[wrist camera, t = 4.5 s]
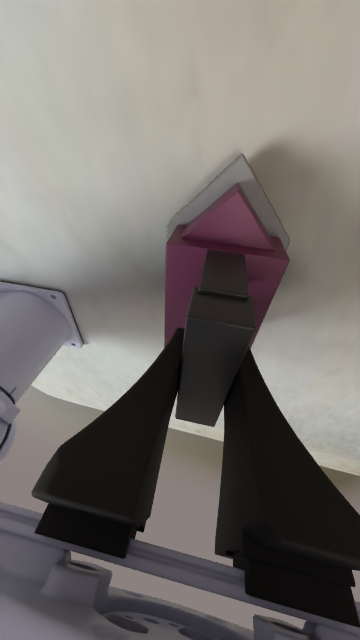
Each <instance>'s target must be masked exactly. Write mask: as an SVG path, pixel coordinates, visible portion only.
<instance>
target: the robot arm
mask: <svg viewBox="0 0 360 640" xmlns="http://www.w3.org/2000/svg"><path fill="white" fill-rule="evenodd" d="M184 330H185V328H179V327H178V328H176V330H175V332H174V334H173V336H172V337H171V339H170V341H169V342H168V344H167V345H166V347H165V348H164V349H163V351H162V352H161V354H160V355H159V356H158V358H157V359H156V360H155V361H154V363H153V364H152V365H151V366H150V367H149V369H148V370H147V371H146V372H145V373H144V374H143V376H142V377H141V378H140V379H139V380H138V381H137V382H136V383H135V384H134V385H133V386H132V387H131V388H130V389H129V390H128V391H127V392H126V393H125V394H124V395H123V396H122V397H121V398H120V399H119V400H118V401H116V402H115V403H114V404H113V405H112V406H111V407H110V408H108V409H107V410H106V411H105V412H104V413H103V414H101V415H100V416H99V417H98V418H96V419H95V420H94V421H93V422H92V423H90V424H89V425H88V426H86V427H85V428H84V429H83V430H81V431H80V432H78V433H77V434H76V435H74V436H73V437H72V438H70V439H69V440H68V441H66V442H65V443H64V444H62V445H61V446H60V447H59V448H58V450H57V451H56V453H55V454H54V455H53V457H52V458H51V460H50V461H49V462H48V464H47V465H46V467H45V469H44V470H43V472H42V474H41V476H40V478H39V479H38V482H37V483H36V485H35V487H34V488H33V490H32V496H33V497H35V498H37V499H40V500H42V501H44V502H47V503H49V504H48V506H47V508H46V510H45V512H44V514H42V513H38V512H35V511H31V510H27V509H24V508H20V507H17V506H13V505H10V504H6V503H3V502H0V640H360V603H359V602H356V601H354V598H353V594H352V590H351V587H355V580H354V577H353V573H352V570H359V571H360V515H359V514H358V513H357V512H356V510H355V509H354V508H353V507H352V506H351V505H350V503H349V502H348V501H347V500H346V499H345V498H344V496H343V495H342V494H341V493H340V492H339V490H338V489H337V488H336V487H335V486H334V484H333V483H332V482H331V481H330V479H329V478H328V477H327V476H326V474H325V473H324V472H323V471H322V469H321V468H320V467H319V465H318V464H317V463H316V461H315V460H314V459H313V457H312V456H311V455H310V453H309V452H308V451H307V449H306V448H305V446H304V445H303V444H302V442H301V441H300V440H299V438H298V437H297V435H296V434H295V432H294V431H293V429H292V428H291V426H290V425H289V423H288V422H287V420H286V419H285V417H284V416H283V414H282V412H281V411H280V409H279V407H278V406H277V404H276V402H275V400H274V399H273V397H272V395H271V393H270V391H269V389H268V388H267V386H266V384H265V382H264V380H263V377H262V375H261V373H260V371H259V369H258V367H257V364H256V362H255V360H254V357H253V355H252V352H251V350H250V347H248V350H247V352H246V354H245V357H244V359H243V361H242V364H241V366H240V368H239V371H238V373H237V375H236V377H235V380H234V382H233V384H232V387H231V389H230V391H229V394H228V396H227V398H226V401H225V403H224V447H223V462H222V474H221V486H220V498H219V508H218V518H217V528H216V537H215V554H216V555H220V556H223V557H227V558H231V559H233V567H231V566H227V565H224V564H220V563H217V562H213V561H209V560H206V559H202V558H198V557H195V556H192V555H188V554H184V553H181V552H178V551H174V550H170V549H167V548H163V547H159V546H156V545H152V544H149V543H145V542H142V541H138V540H135V535H136V532H137V531H140V532H144V528H145V524H146V520H147V519H148V518H149V517H150V515H151V509H152V504H153V499H154V494H155V489H156V483H157V479H158V473H159V469H160V464H161V459H162V454H163V449H164V444H165V439H166V435H167V430H168V425H169V420H170V416H171V413H172V409H173V406H174V402H175V399H176V396H177V392H178V387H179V377H180V368H181V359H182V349H183V340H184ZM62 345H66V346H71V347H76V348H81V347H82V346H83V343H82V340H81V338H80V335H79V332H78V330H77V327H76V324H75V322H74V319H73V316H72V314H71V311H70V309H69V306H68V303H67V301H66V298H65V296H64V294H63V293H61V292H58V291H52V290H46V289H40V288H34V287H28V286H23V285H17V284H11V283H5V282H0V465H1V463H2V462H3V460H4V459H5V457H6V456H7V454H8V452H9V450H10V448H11V446H12V444H13V440H14V437H15V433H16V422H15V421H14V418H15V417H16V415H17V414H18V413H19V412H20V409H19V408H17V407H16V406H15V404H16V402H17V401H18V400H19V399H20V397H21V396H22V395H23V394H24V393H25V391H26V390H27V389H28V387H29V386H30V385H31V384H32V383H33V381H34V380H35V379H36V378H37V376H38V375H39V374H40V373H41V371H42V370H43V369H44V368H45V366H46V365H47V364H48V363H49V361H50V360H51V359H52V358H53V356H54V355H55V354H56V353H57V351H58V350H59V349H60V348H61V346H62ZM70 551H74V552H77V553H80V554H83V555H87V556H90V557H94V558H97V559H100V560H104V561H107V562H111V563H114V564H118V565H121V566H124V567H127V568H131V569H134V570H138V571H141V572H145V573H148V574H151V575H155V576H158V577H161V578H165V579H168V580H172V581H175V582H178V583H182V584H185V585H188V586H192V587H195V588H199V589H202V590H205V591H209V592H212V593H216V594H219V595H222V596H226V597H229V598H233V599H236V600H239V601H243V602H246V603H249V604H253V605H256V606H260V607H263V608H266V609H270V610H273V611H277V612H280V613H283V614H287V615H290V616H294V617H297V618H300V619H304V620H307V621H306V622H305V624H304V628H303V629H300V628H298V627H296V626H294V625H292V624H289V623H287V622H284V621H282V620H279V619H275V618H271V617H266V616H261V615H256V614H255V615H254V616H253V627H254V631H252V630H250V629H247V628H244V627H241V626H238V625H236V624H233V623H230V622H227V621H225V620H222V619H219V618H217V617H214V616H211V615H208V614H205V613H203V612H200V611H197V610H194V609H191V608H188V607H185V606H182V605H179V604H176V603H172V602H169V601H166V600H162V599H159V598H155V597H151V596H147V595H144V594H140V593H135V592H131V591H127V590H123V589H119V588H115V587H111V586H109V584H110V581H111V577H112V572H111V571H110V570H107V569H105V568H103V567H100V566H98V565H96V564H93V563H89V562H85V561H77V560H71V552H70Z"/></svg>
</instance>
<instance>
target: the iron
mask: <svg viewBox="0 0 360 640" xmlns="http://www.w3.org/2000/svg"><path fill="white" fill-rule="evenodd" d="M289 242H290V238H289V236H288V235H287V233H286V231H285V229H284V227H283V225H282V224H281V222H280V220H279V218H278V216H277V215H276V213H275V211H274V209H273V207H272V205H271V204H270V202H269V200H268V198H267V196H266V194H265V193H264V191H263V189H262V187H261V185H260V184H259V182H258V180H257V178H256V176H255V174H254V173H253V171H252V169H251V167H250V165H249V163H248V162H247V160H246V158H245V156H244V154H240V155H239V156H238V157H237V158H236V159H235V160H234V161H233V162H232V163H231V164H230V165H229V166H228V167H227V168H225V169H224V170H223V171H222V172H221V173H220V174H219V175H218V176H217V177H216V178H215V179H214V180H213V181H211V182H210V183H209V184H208V185H207V186H206V187H205V188H204V189H203V190H202V191H201V192H200V193H199V194H198V195H196V196H195V197H194V198H193V199H192V200H191V201H190V202H189V203H188V204H187V205H186V206H185V207H184V208H182V209H181V210H180V211H179V212H178V213H177V214H176V215H175V216H174V217H173V218H172V219H171V220H170V222H169V223H168V225H167V243H166V278H165V342H164V348H165V347H166V345H167V344H168V342H169V341H170V339H171V337H172V336H173V334H174V332H175V330H176V328H178V327H179V328H185V330H184V340H183V349H182V359H181V368H180V377H179V387H178V396H177V406H176V415H175V417H176V419H180V420H184V421H189V422H194V423H198V424H203V425H207V426H212V427H214V426H215V424H216V422H217V419H218V417H219V415H220V412H221V410H222V408H223V405H224V403H225V401H226V398H227V396H228V394H229V391H230V389H231V387H232V384H233V382H234V380H235V377H236V375H237V373H238V371H239V368H240V366H241V364H242V361H243V359H244V357H245V354H246V352H247V350H248V347H250V349H251V346H252V344H253V342H254V340H255V337H256V335H257V333H258V331H259V328H260V326H261V324H262V322H263V319H264V317H265V315H266V313H267V310H268V308H269V306H270V304H271V301H272V299H273V297H274V295H275V292H276V290H277V288H278V286H279V283H280V281H281V279H282V276H283V274H284V272H285V270H286V267H287V265H288V263H289V257H288V255H287V253H286V250H287V247H288V245H289Z"/></svg>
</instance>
